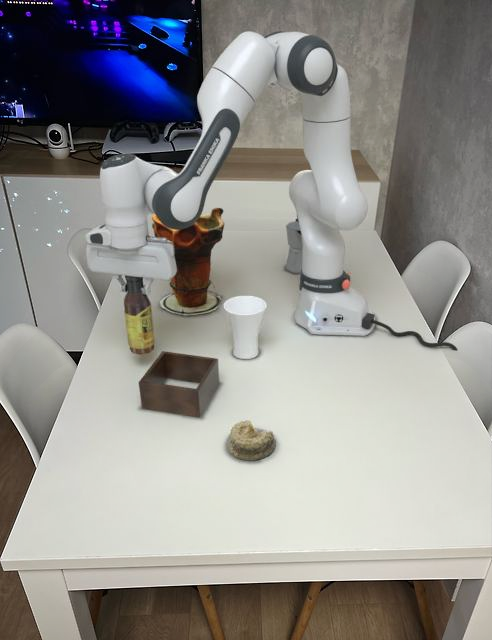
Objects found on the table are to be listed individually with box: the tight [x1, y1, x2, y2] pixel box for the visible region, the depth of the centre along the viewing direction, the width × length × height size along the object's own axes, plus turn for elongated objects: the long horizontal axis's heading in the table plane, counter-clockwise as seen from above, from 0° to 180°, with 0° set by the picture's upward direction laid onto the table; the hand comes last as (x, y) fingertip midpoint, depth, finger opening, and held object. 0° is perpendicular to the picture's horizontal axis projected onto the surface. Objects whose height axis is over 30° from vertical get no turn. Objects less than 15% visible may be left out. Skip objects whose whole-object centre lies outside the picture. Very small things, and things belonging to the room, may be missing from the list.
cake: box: [226, 419, 277, 462], centre depth 123 cm, size 10×10×5 cm
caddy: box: [138, 350, 220, 418], centre depth 137 cm, size 14×14×7 cm
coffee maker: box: [285, 216, 302, 275], centre depth 196 cm, size 15×9×18 cm, turn 179°
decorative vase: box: [151, 207, 225, 317], centre depth 171 cm, size 21×23×28 cm
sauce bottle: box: [123, 275, 156, 356], centre depth 143 cm, size 7×6×20 cm
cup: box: [223, 295, 268, 360], centre depth 151 cm, size 10×10×14 cm
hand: (135, 292), depth 140 cm, fingers closed on sauce bottle, 4 cm apart
